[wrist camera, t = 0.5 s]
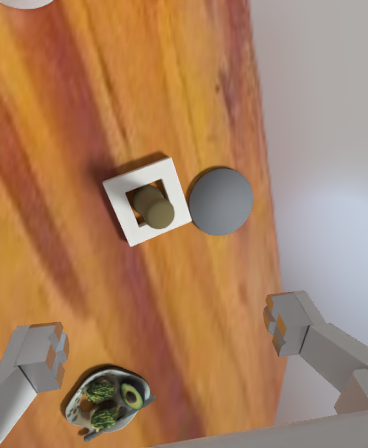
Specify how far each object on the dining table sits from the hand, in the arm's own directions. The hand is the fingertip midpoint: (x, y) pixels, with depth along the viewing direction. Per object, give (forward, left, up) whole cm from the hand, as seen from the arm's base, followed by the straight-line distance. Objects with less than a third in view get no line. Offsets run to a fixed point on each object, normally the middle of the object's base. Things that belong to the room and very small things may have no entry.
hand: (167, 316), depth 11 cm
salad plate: (+47, -19, -44) cm, 67 cm away
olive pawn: (+7, +5, -44) cm, 45 cm away
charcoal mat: (+13, +19, -43) cm, 49 cm away
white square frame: (+7, +5, -43) cm, 44 cm away
